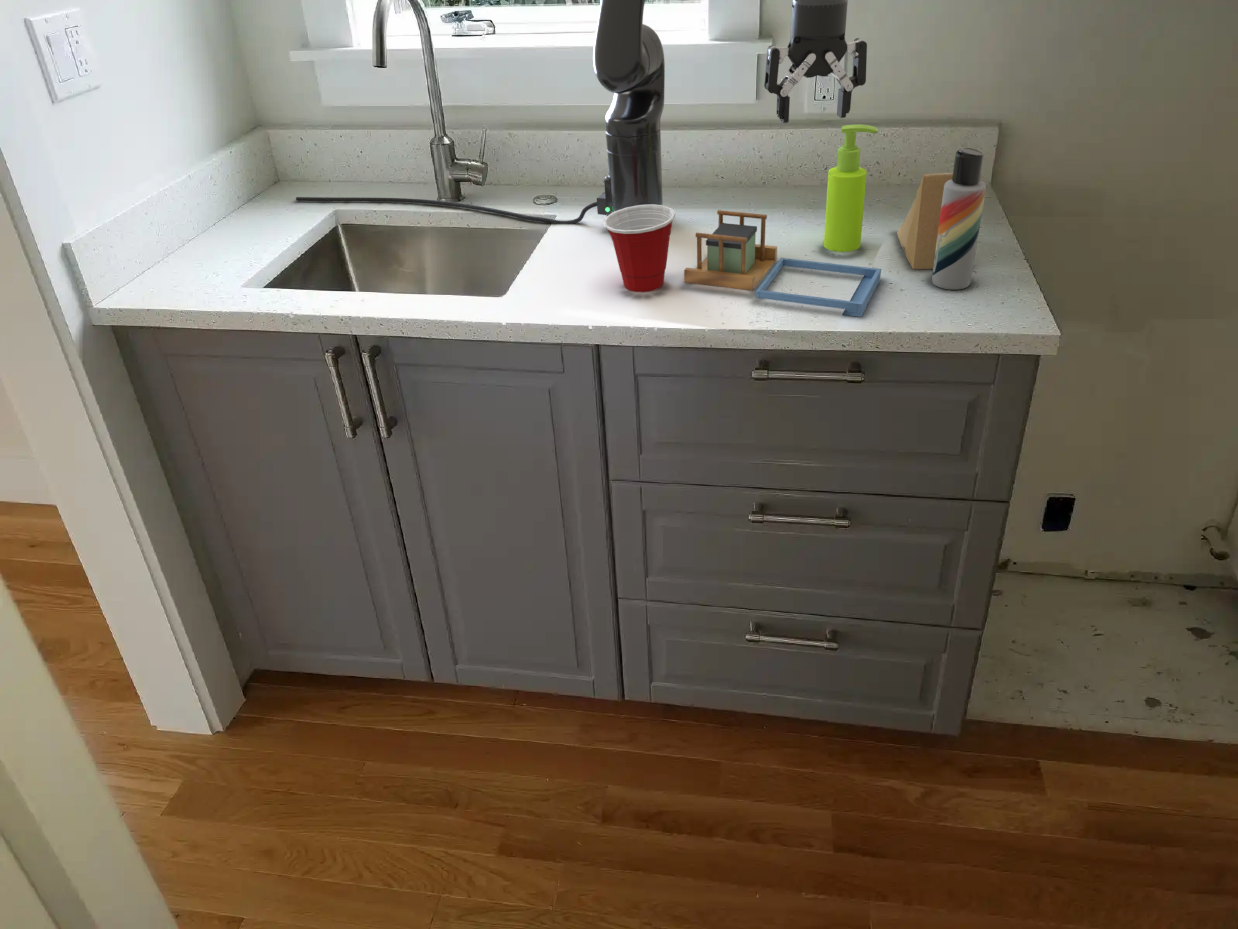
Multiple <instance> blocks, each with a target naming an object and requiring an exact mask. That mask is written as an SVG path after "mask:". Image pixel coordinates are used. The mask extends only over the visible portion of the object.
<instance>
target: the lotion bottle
mask: <svg viewBox="0 0 1238 929" xmlns="http://www.w3.org/2000/svg"><path fill="white" fill-rule="evenodd" d="M984 157H985V153H983V152H982V151H980V150H978V149H975V148H971V147H961V148H958V149H957V151H955V154H954V162H953V168H952V169H953V170H952V172H953V176H952V179H951V180H949V181H947V182H946V183H945V185H944V191H943V198H942V206H941V213H940V221H939V228H938V236H937V243H936V251H935V258H934V266H933V269H932V273H931V274H932V275H931V282H932V283H933V285H934V286H936V287H937V288H940V289H945V290H953V291H954V290H962V289H965V288H968V287H969V286H970V285H971V282H972V278H973V272H974V266H975V259H976V254H977V247H978V241H979V235H980V228H981V223H982V215H983V209H984V203H985V198H986V197H985V196H986V189H987V185H986V183H985V182H984V181H982V180H980V177H981V178H982V169H983V164H984Z"/></svg>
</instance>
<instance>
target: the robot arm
mask: <svg viewBox="0 0 1238 929" xmlns="http://www.w3.org/2000/svg"><path fill="white" fill-rule="evenodd" d="M848 1H849V0H791V15H790V39H789V43H788V45H787V46H775V45H774V44H773V45H772V44H771V45H769V46H768V47H767V50H766V59H765V69H764V70H765V71H764V82H763V88H764V89H765V90H767V92H768V93H769V94H775V95H776V112H775V113H776V116H777V118H778V119H779V120H780V122H781V123H782V124H788V123H789V120H790V101H791V98H790V96H789V94H790V93H791V91H792V90H793V89H794V88H795V86H796V85H798V84H799V82H800V80H801V79H802V78H803V77H805V78H806V79H809V78H811V79H812V78H814V77H817V76H818V77H822V78H823V77H829V75H830V74H831V75H832V76H833V77H834V78H835V80H836V82H837V83H838V85H839V86H840V88H838V89H837V90H838V91H837V103H836V104H837V106H836V115H837V117H838V118H840V119H844V118H846V117H847V114H849V113H850V111H851V107H852V106H851V105H852V93H853V90H854V89H856V88H857V87H859V86H860V87H861V86H864V85H865V84H866V82H867V61H868V60H867V58H868V56H867V55H868V43H867V42H866V41H865V40H863V39H861V38H859V37H857V38H855V39H854V40H852V41H846V30H847V27H846V26H847V15H848V4H849V3H848ZM599 4H600V5H599V10H598V17H597V23H596V29H595V30H596V31H595V37H594V43H593V52H592V61H593V62H592V63H593V69H594V73H595V76H596V78H597V80H598V82H599V83H600V85H601V86H602V87H603V88H604V89H605V90H606V91H608V92H610V93H612V94H613V97H612V102H611V104H610V106H609V108H608V109H607V111H606V114H605V117H604V126H605V128H604V129H605V139H606V140H605V141H606V158H607V172H608V174H607V175H606V176H605V177H604V179H603V183H604V184H603V185H604V191H603V192H602V193H601V194H599V195H598V196H597V197H596V201H595V202H592V203H590V204H588V205H586V206H585V207H584V208H583V209H582V210H581V212H580V214H579V216H578V217H577V218H574V219H570V220H559V219H553V218H547V217H541V216H534V215H526V214H522V213H517V212H513V211H509V210H504V209H497V208H493V207H487V206H481V205H475V204H469V203H461V202H455V201H446V200H445V201H444V200H434V199H424V198H423V199H422V198H405V197H403V198H402V197H355V196H353V197H327V196H326V197H325V196H324V197H323V196H322V197H320V196H319V197H318V196H296V197H295V201H296V202H381V203H382V202H384V203H385V202H386V203H411V204H412V203H413V204H427V205H437V206H448V207H456V208H462V209H468V210H469V209H470V210H476V211H481V212H487V213H494V214H499V215H503V216H507V217H508V216H509V217H514V218H518V219H521V220H527V221H534V222H543V223H547V224H553V225H575V224H576V223H579V222H581V221H583V219H584V217H585V215H586V213H587V212H588V211H589V210H591V209H594V208H595V207H596V209H597V210H596V212H597V215H600V216H601V215H602V216H605V218H606V217H607V216H608V215H610V214H611V213H613V212H615V211H618V210H621V209H624V208H627V207H632V206H637V205H651V204H654V205H663V206H664V202H663V172H662V171H663V170H662V169H663V168H662V166H663V165H662V140H661V138H662V137H661V136H662V135H661V134H662V133H661V118H662V115H663V111H664V107H665V88H666V87H665V84H666V83H665V81H666V80H665V78H666V76H665V75H666V73H665V72H666V70H665V69H666V68H665V67H666V66H665V52H664V47H663V43H662V41H661V39H660V37H659V35H658V33H657V31H655V30H654V29H653V28H652V27H651V26H648V25H647V24H644V23H643V21H644V20H643V19H644V10H645V4H646V0H600V2H599ZM847 51H848V52H847ZM846 53H848V55H849V56H851V57H852V72H851V74H852V76H848V75H847V72H846V71H845V69H844V68H843V67H842V65H841V63H840V62H841V60H842V59H843V58H844V57H845V55H846ZM785 57H788V59H789V60H790V62H791V64H790V65H789V66H788V68H787V69H786V71H785V72H784V76H783V77H782V78H781V80H780V81H779V82H778V77H779V67H780V65H781V64H782V63H783V62H784V59H785ZM606 231H607V232H609V231H608V229H606Z"/></svg>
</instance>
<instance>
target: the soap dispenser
mask: <svg viewBox="0 0 1238 929" xmlns="http://www.w3.org/2000/svg"><path fill="white" fill-rule="evenodd" d="M878 132H879V129H878V127H876V126H873V125H868V124H847V125H846V124H845V125H841V134H844V141H843V144H842V145H841V146H839V147H838V149H837V161H836V166H834V167H831V168H829V170H828V174H827V189H826V201H825V202H826V204H825V218H824V234H823V247H824V248H825V249H826V250H829V251H832V252H835V253H849V252H854V251H857V250H858V249H860V248H861V244H862V243H861V242H862V232H863V219H864V208H865V199H866V198H865V197H866V186H867V175H868V171H867V169H866V168H864V167H861V166H860V159H861V147H859V146H858V145H857V144H856V141H857V140H856V138H857V133H868V134H874V135H875V134H877V133H878Z"/></svg>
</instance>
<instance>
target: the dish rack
mask: <svg viewBox="0 0 1238 929" xmlns="http://www.w3.org/2000/svg"><path fill="white" fill-rule="evenodd" d="M716 214H717V215H718V227H719V226H720V225H721V224H722V223H724V216H727V217H738V218H739V225H745V218H747V219H748V218H749V219H758V220H760V244H757V243H755V263H754V264H753V266H752V267H751V268H750V269H749V271H748V272H747V273H746V274H745V266H746V242H747V238H744V237H735V236H725V235H716V234H713V233H706V232H695V234H694V236H695V238H696V268H692V267H685V268H684V269H683V282H684V283H688V284H695V285H703V286H711V287H719V288H720V287H721V288H727V289H734V290H735V289H736V290H743V291H751V292H753V291H754V289H755V288H757V285H758V284H759V283H760V282H761V280H762V279H763V278H764V277H765V275H766V274H767V272H768V271H769V270H770V268H771V267H772V266H773V265H774V264H775V262H776V260H777V259H778V246H775V245H767V244H766V225H767V224H766V221H767V219H768V214H763V213H754V212H753V213H752V212H744V211H743V212H742V211H731V210H722V209H718V210H716ZM702 239H718V240H719V271H711V270H707V256H706V257H705V258H704V259H703V258H702V257H703V255H702V251H703V250H702V248H703V247H702V244H703V243H702ZM724 240H727V241H736V242H741V274H736V273H728V272H723V245H724ZM702 259H703V260H702Z"/></svg>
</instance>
